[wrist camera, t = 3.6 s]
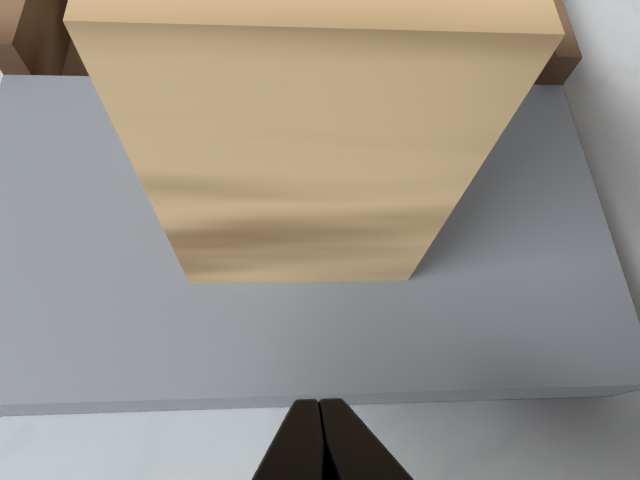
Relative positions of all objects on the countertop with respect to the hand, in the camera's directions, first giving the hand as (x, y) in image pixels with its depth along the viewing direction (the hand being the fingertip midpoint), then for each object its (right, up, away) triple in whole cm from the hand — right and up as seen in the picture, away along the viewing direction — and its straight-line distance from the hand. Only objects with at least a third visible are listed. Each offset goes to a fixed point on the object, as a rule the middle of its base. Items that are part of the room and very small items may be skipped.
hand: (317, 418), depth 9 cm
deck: (-1, +3, +10) cm, 11 cm away
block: (-1, +5, +9) cm, 10 cm away
